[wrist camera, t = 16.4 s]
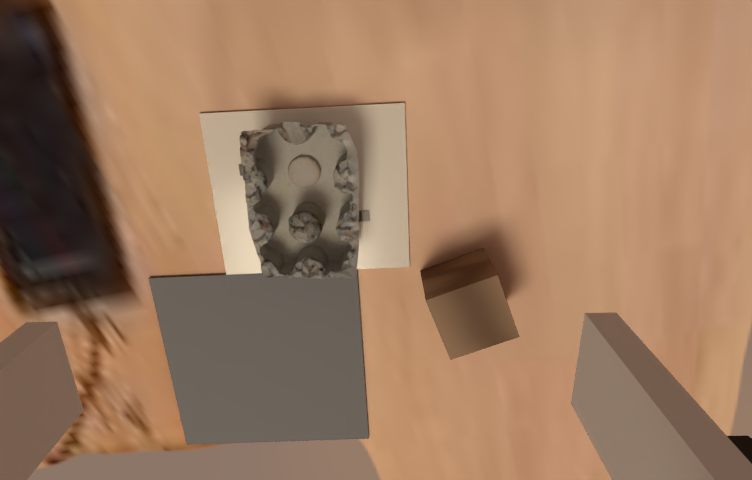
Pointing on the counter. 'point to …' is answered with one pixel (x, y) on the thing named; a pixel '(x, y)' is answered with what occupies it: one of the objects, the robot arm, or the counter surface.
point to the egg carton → (302, 199)
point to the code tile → (376, 179)
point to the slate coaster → (264, 357)
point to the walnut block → (468, 304)
